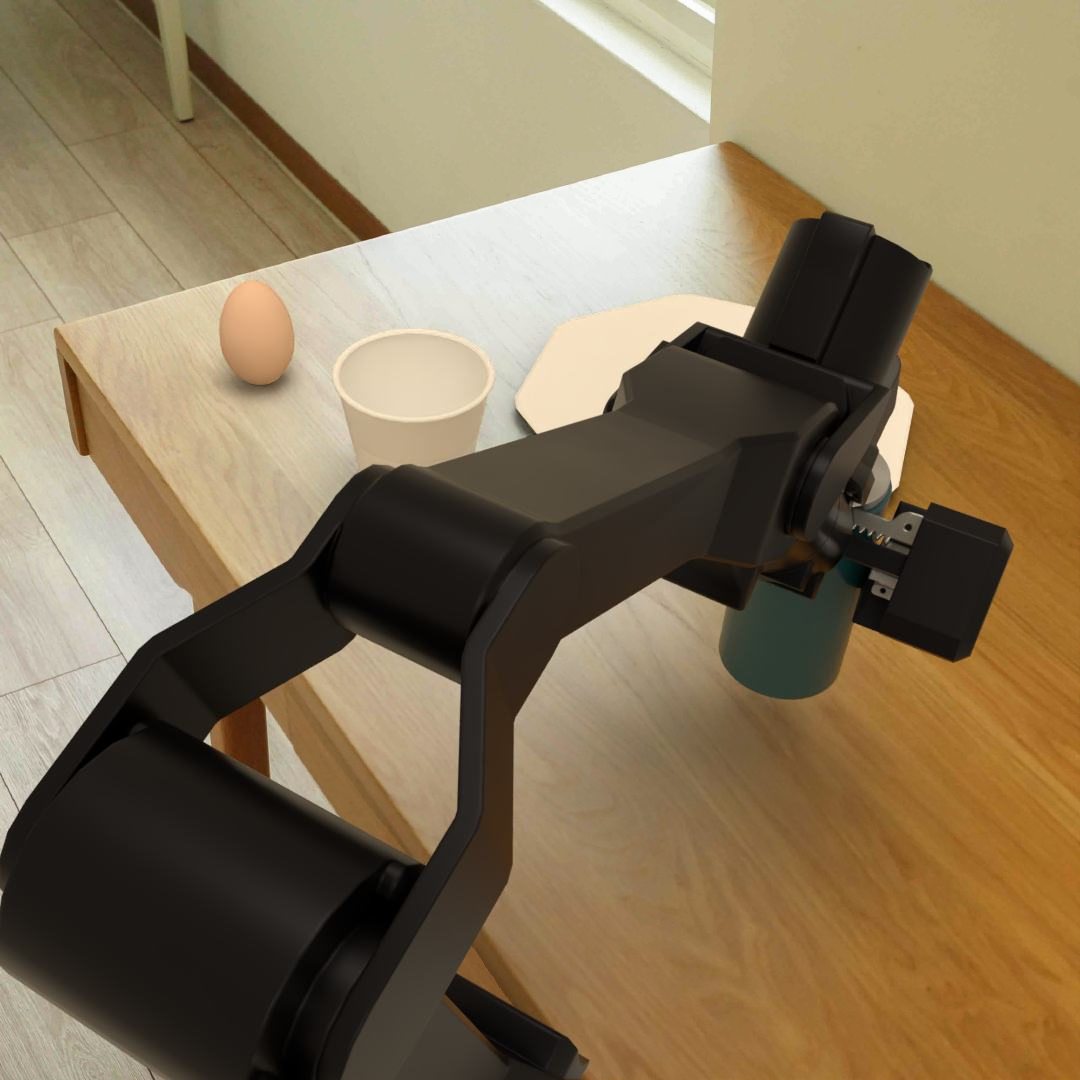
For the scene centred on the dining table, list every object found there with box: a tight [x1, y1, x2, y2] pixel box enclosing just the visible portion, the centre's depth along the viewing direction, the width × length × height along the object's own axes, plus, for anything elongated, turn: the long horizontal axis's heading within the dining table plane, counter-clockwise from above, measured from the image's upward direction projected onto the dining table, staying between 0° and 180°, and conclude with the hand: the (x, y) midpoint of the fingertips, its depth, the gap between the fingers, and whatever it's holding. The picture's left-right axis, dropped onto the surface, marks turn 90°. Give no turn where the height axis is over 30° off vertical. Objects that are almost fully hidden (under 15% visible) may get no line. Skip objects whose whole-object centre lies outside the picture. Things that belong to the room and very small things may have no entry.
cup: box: [331, 328, 496, 472], centre depth 86 cm, size 10×10×11 cm
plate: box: [514, 293, 915, 495], centre depth 98 cm, size 28×28×2 cm
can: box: [718, 453, 893, 701], centre depth 69 cm, size 7×7×13 cm
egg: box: [218, 279, 295, 386], centre depth 97 cm, size 5×5×8 cm
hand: (810, 549), depth 69 cm, fingers closed on can, 6 cm apart
